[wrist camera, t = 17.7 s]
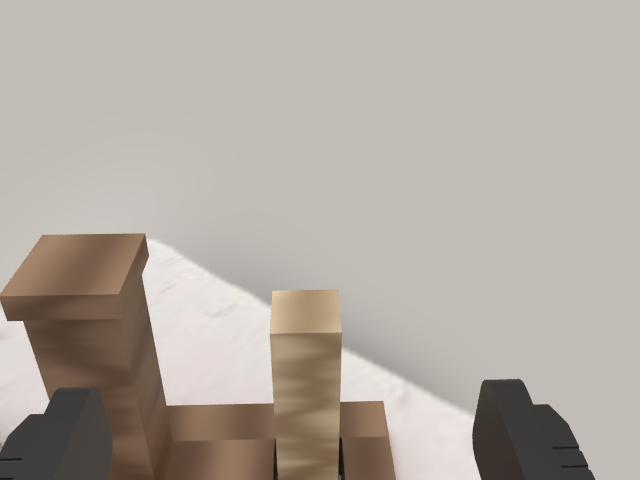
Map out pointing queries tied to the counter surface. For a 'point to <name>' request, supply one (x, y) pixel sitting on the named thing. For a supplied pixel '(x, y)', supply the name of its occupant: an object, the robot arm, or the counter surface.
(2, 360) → the counter surface
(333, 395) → the beige wooden post
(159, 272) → the counter surface
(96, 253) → the brown wooden stand
